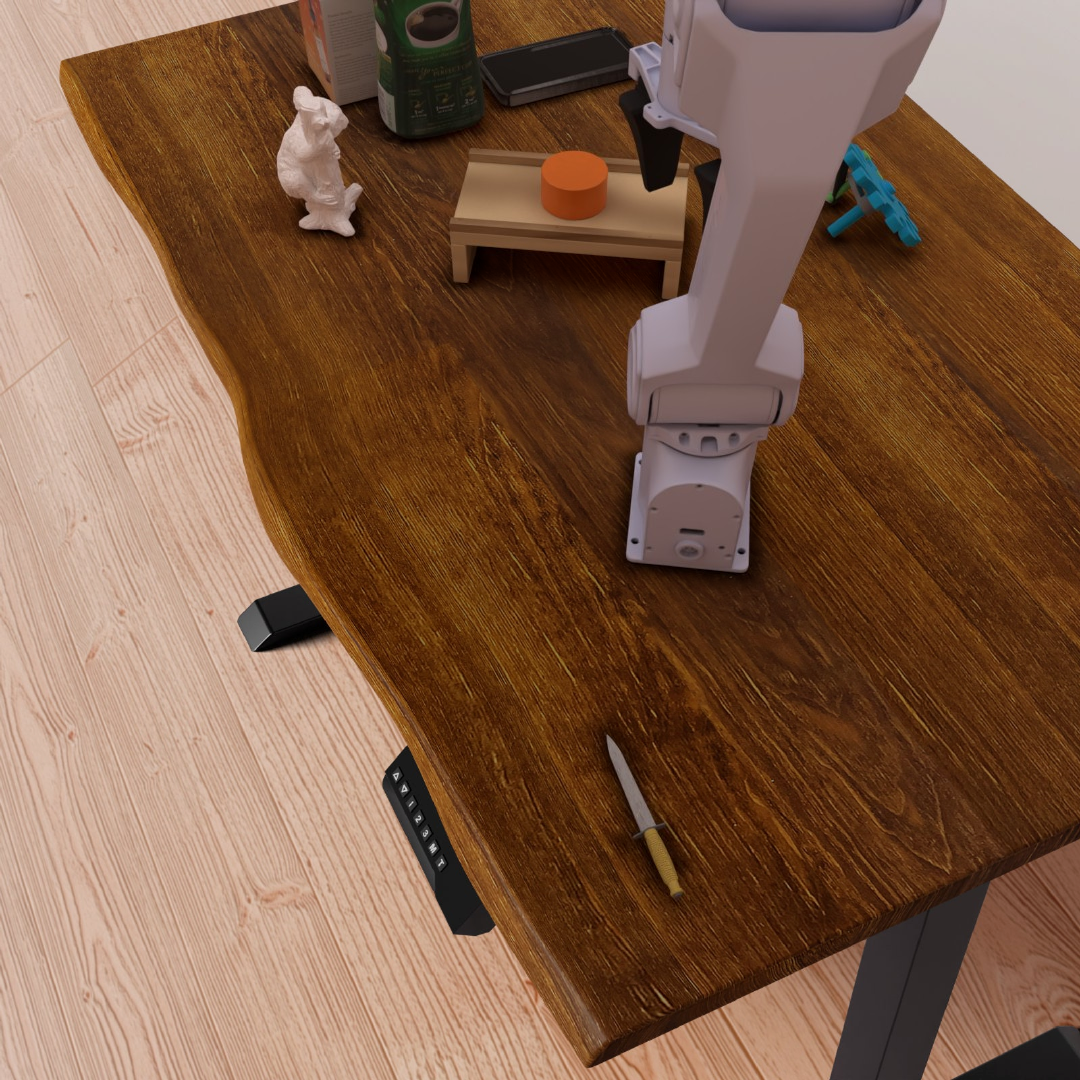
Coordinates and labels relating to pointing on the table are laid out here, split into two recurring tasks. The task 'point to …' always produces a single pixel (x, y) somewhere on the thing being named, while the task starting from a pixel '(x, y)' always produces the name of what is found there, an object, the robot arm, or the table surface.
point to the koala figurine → (317, 164)
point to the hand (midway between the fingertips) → (687, 214)
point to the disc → (574, 185)
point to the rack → (523, 223)
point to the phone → (556, 66)
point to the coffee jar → (427, 67)
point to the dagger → (645, 821)
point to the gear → (872, 198)
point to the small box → (342, 47)
